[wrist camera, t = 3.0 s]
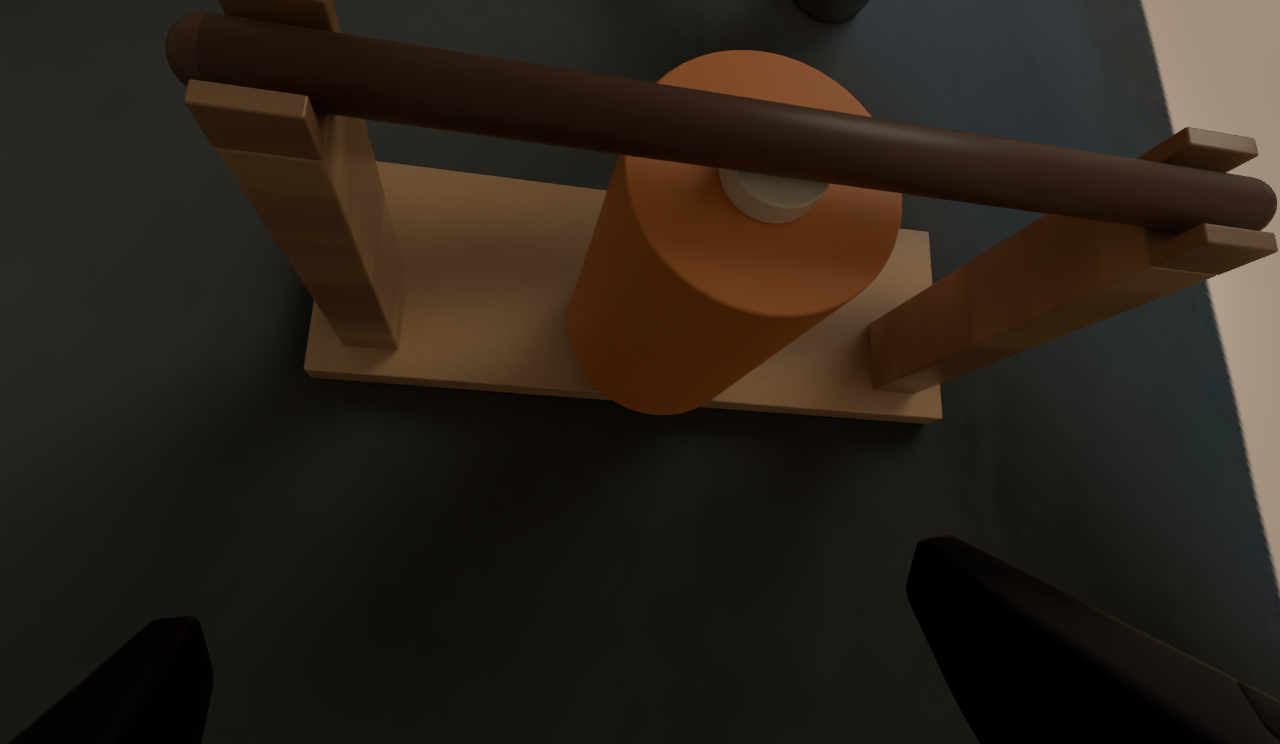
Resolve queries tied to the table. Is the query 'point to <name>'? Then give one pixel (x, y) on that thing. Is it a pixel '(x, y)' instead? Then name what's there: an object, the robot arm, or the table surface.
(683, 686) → the table surface
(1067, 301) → the rack
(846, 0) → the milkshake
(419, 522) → the table surface
